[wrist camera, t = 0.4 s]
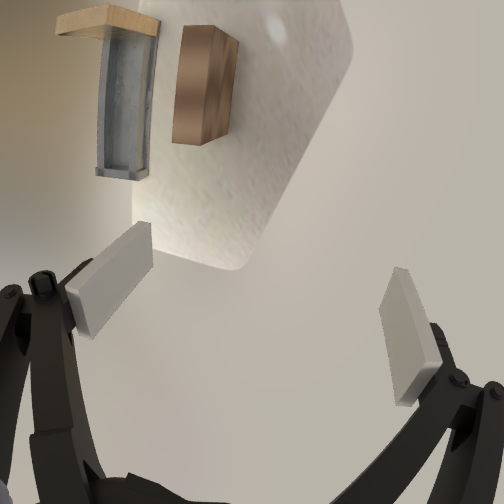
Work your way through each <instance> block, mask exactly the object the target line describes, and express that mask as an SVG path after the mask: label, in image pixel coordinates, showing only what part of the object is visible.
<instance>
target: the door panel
mask: <svg viewBox="0 0 504 504" xmlns="http://www.w3.org/2000/svg"><path fill="white" fill-rule="evenodd" d="M238 44H239V42H238V41H237V40H235V39H234V38H232V37H231V36H229V35H228V34H226V33H225V32H223V31H222V30H220V29H219V28H217V27H216V26H214V25H192V26H184V27H183V34H182V42H181V49H180V57H179V66H178V75H177V84H176V95H175V106H174V118H173V132H172V143H179V144H188V145H197V146H201V145H203V144H205V143H208V142H210V141H212V140H214V139H217V138H219V137H221V136H223V135H226V134H227V132H228V123H229V115H230V106H231V98H232V90H233V82H234V74H235V66H236V59H237V51H238Z"/></svg>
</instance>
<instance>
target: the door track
mask: <svg viewBox="0 0 504 504" xmlns="http://www.w3.org/2000/svg"><path fill="white" fill-rule="evenodd" d="M160 24H161V21H159V20H156V19H154V18H151V17H148V16H146V15H143V14H140V13H137V12H134V11H131V10H128V9H125V8H122V7H119V6H116V5H113V4H109V3H108V4H103V5H98V6H94V7H90V8H86V9H82V10H78V11H74V12H70V13H67V14H64V15H61V16H58V18H57V24H56V31H55V35H59V36H72V37H82V38H91V39H99V40H104V41H103V50H102V58H101V69H100V82H99V97H98V122H97V123H98V124H97V160H98V161H97V165H98V167H96V169H95V170H96V176H103V177H112V178H119V179H127V180H134V181H140V180H141V179H143V178H145V177H147V176H148V172H149V141H150V121H151V106H152V93H153V82H154V72H155V62H156V54H157V45H158V38H159V31H160Z"/></svg>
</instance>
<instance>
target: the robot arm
mask: <svg viewBox="0 0 504 504" xmlns="http://www.w3.org/2000/svg"><path fill="white" fill-rule="evenodd" d="M152 267H153V255H152V236H151V223H148V222H142V221H138V222H137V223H136V224H135V225H133V226H132V227H131V228H130V229H129V230H128V231H126V232H125V233H124V234H123V235H121V236H120V237H119V238H118V239H117V240H115V241H114V242H113V243H112V244H111V245H110V246H108V247H107V248H106V249H105V250H104V251H103V252H101V253H100V254H99V255H98V256H97V257H96V258H95V259H93V258H90V259H88V260H86V261H84V262H82V263H81V264H80V265H79V266H78V267H77V268H76V269H74V270H73V271H72V272H71V273H70V274H69V275H68V276H66V277H65V278H64V279H63V280H62V281H61V282H60V283H59V284H57V281H56V277H55V274H54V273H53V272H52V271H48V270H46V271H45V270H44V271H40V272H37V273H35V274H33V275H32V276H31V277H30V278H29V280H28V283H29V286H30V289H31V292H32V295H28V294H23V291H22V288H21V286H19V285H16V284H13V285H8V286H6V287H4V288H3V289H2V290H1V291H0V504H13V503H12V499H11V497H10V496H9V491H8V489H7V483H8V478H9V474H10V468H11V461H12V452H13V444H14V437H15V430H16V424H17V418H18V412H19V407H20V402H21V397H22V392H23V388H24V384H25V379H26V375H27V371H28V367H29V363H30V371H31V394H32V409H33V419H34V429H35V430H34V431H35V432H34V434H31V435H30V437H29V443H30V451H31V457H32V464H33V470H34V475H35V481H36V485H37V490H38V495H39V499H40V502H39V503H37V504H229V503H218V502H193V501H188V500H185V499H183V498H182V497H180V496H178V495H176V494H174V493H173V492H171V491H170V490H168V489H166V488H165V487H163V486H161V485H160V484H158V483H155V482H153V481H150V480H147V479H144V478H142V477H139V476H136V475H134V474H131V473H128V475H127V477H126V478H119V477H111V478H106V476H105V473H104V472H103V469H102V468H101V465H100V463H99V460H98V457H97V454H96V450H95V447H94V443H93V439H92V435H91V431H90V427H89V424H88V419H87V415H86V410H85V405H84V401H83V397H82V391H81V385H80V380H79V374H78V368H77V361H76V354H75V347H74V339H73V334H72V330H73V329H74V327H75V326H76V327H77V331H78V334H79V336H82V337H84V338H87V339H90V340H93V339H94V337H95V336H96V335H97V334H98V332H99V331H100V330H101V329H102V327H103V326H104V325H105V323H106V322H107V321H108V320H109V319H110V317H111V316H112V315H113V314H114V312H115V311H116V310H117V309H118V307H119V306H120V305H121V304H122V302H123V301H124V300H125V299H126V298H127V296H128V295H129V294H130V293H131V292H132V290H133V289H134V288H135V287H136V286H137V285H138V283H139V282H140V281H141V280H142V279H143V277H144V276H145V275H146V274H147V273H148V272H149V270H150V269H151V268H152ZM379 311H380V316H381V321H382V326H383V331H384V336H385V341H386V346H387V352H388V357H389V363H390V369H391V376H392V382H393V389H394V396H395V404H396V406H408V407H412V405H413V404H414V403H415V401H416V400H417V399H418V400H419V405H420V406H419V407H418V408H417V410H416V411H415V412H414V413H413V415H412V416H411V417H410V418H409V420H408V421H407V423H406V424H405V425H404V426H403V428H402V429H401V430H400V431H399V432H398V434H397V435H396V436H395V437H394V438H393V440H392V441H391V442H390V443H389V444H388V445H387V446H386V448H385V449H384V450H383V451H382V452H381V453H380V454H379V456H378V457H377V458H376V459H375V460H374V461H373V462H372V463H371V464H370V465H369V466H368V467H367V468H366V469H365V470H364V471H363V472H362V473H361V474H360V475H359V476H358V477H357V478H356V479H355V481H353V482H352V483H351V484H350V485H349V486H348V487H347V488H346V489H345V490H344V491H343V492H342V493H341V494H340V495H339V496H337V497H336V498H335V499H334V500H333V501H332V502H331V503H330V504H393V503H394V502H395V501H396V500H397V498H398V497H399V496H400V495H401V493H402V492H403V491H404V490H405V489H406V487H407V486H408V485H409V483H410V482H411V481H412V479H413V478H414V477H415V476H416V474H417V473H418V472H419V470H420V469H421V467H422V466H423V465H424V463H425V462H426V460H427V459H428V457H429V456H430V454H431V453H432V451H433V450H434V448H435V447H436V445H437V444H438V442H439V441H440V439H441V438H442V436H443V434H444V433H445V431H446V429H447V428H451V429H452V431H451V435H450V438H449V441H448V445H447V448H446V452H445V455H444V458H443V461H442V464H441V467H440V470H439V473H438V476H437V479H436V481H435V484H434V487H433V489H432V492H431V495H430V497H429V499H428V502H427V504H493V501H494V497H495V492H496V488H497V483H498V478H499V473H500V468H501V462H502V455H503V448H504V387H503V386H502V385H501V384H500V383H498V382H494V381H490V382H488V383H487V384H486V385H485V386H484V388H481V387H478V386H475V385H473V384H470V380H469V378H468V376H467V375H466V374H465V373H464V372H463V371H462V370H460V369H458V368H456V366H455V363H454V360H453V357H452V354H451V351H450V348H449V347H448V343H447V341H446V338H445V336H444V333H443V331H442V330H441V328H440V327H439V326H438V325H437V324H436V323H429V321H428V318H427V316H426V313H425V310H424V308H423V305H422V303H421V300H420V298H419V295H418V293H417V290H416V288H415V285H414V283H413V281H412V278H411V276H410V273H409V271H408V269H403V268H398V267H395V268H394V271H393V274H392V277H391V279H390V282H389V284H388V287H387V290H386V292H385V295H384V298H383V300H382V303H381V305H380V308H379Z"/></svg>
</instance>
